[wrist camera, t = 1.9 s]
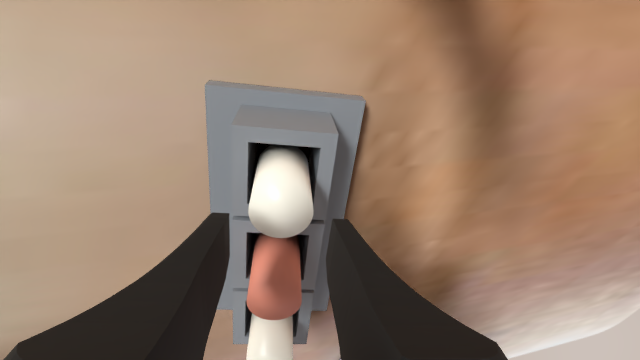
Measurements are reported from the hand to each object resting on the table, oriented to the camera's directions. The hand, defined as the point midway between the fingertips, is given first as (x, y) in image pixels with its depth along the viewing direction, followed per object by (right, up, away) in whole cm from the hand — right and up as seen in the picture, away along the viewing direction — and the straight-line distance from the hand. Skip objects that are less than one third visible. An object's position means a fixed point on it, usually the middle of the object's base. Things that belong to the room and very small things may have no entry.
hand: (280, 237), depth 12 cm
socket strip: (-1, 0, +11) cm, 11 cm away
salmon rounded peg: (-1, -2, +8) cm, 8 cm away
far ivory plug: (-2, -7, +11) cm, 13 cm away
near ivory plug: (-1, +3, +6) cm, 6 cm away
